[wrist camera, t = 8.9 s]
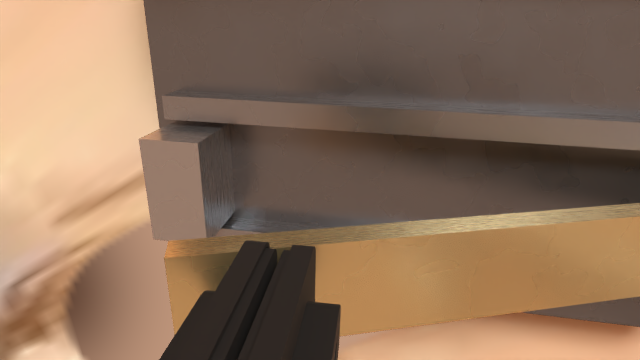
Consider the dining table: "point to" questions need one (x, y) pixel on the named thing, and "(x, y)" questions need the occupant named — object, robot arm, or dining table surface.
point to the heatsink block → (390, 114)
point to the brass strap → (440, 265)
